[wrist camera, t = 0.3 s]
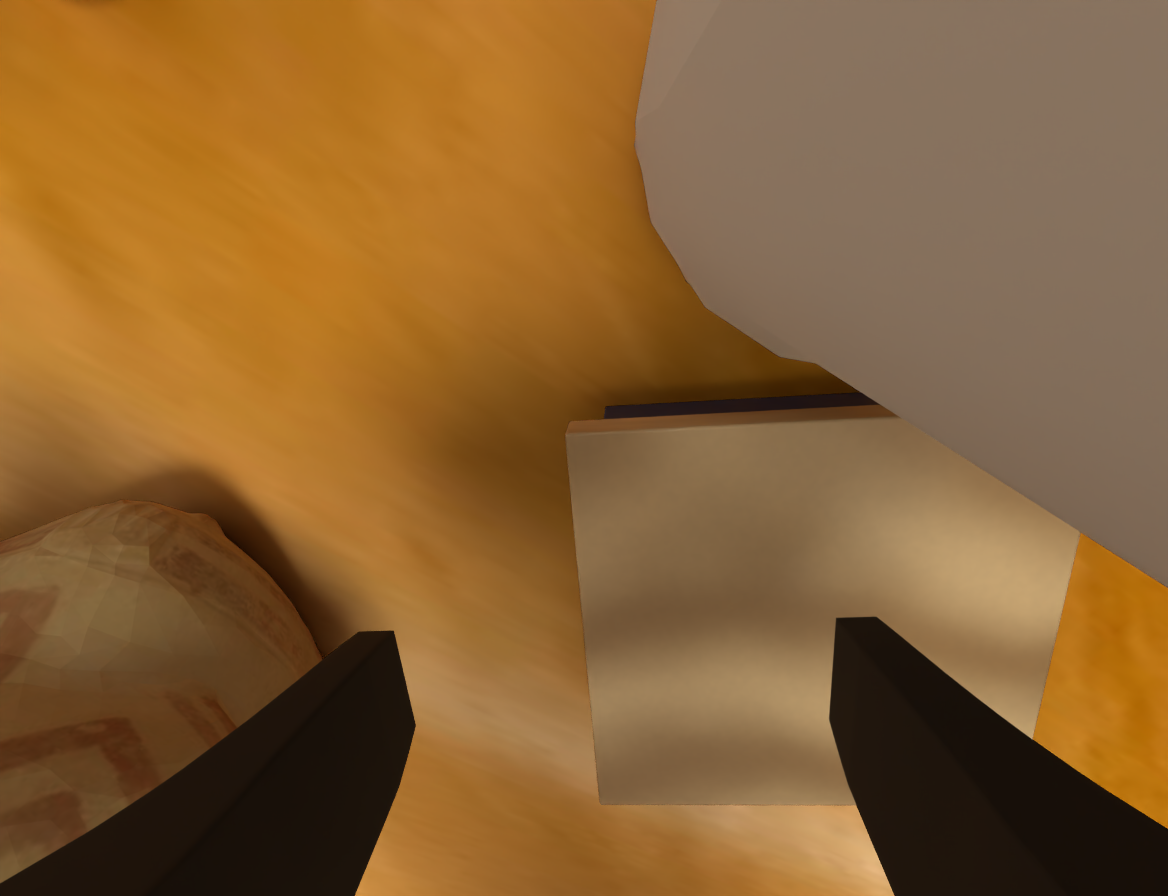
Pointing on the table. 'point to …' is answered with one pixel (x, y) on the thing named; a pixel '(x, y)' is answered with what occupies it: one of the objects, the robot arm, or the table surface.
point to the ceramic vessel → (126, 663)
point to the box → (788, 586)
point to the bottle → (940, 222)
